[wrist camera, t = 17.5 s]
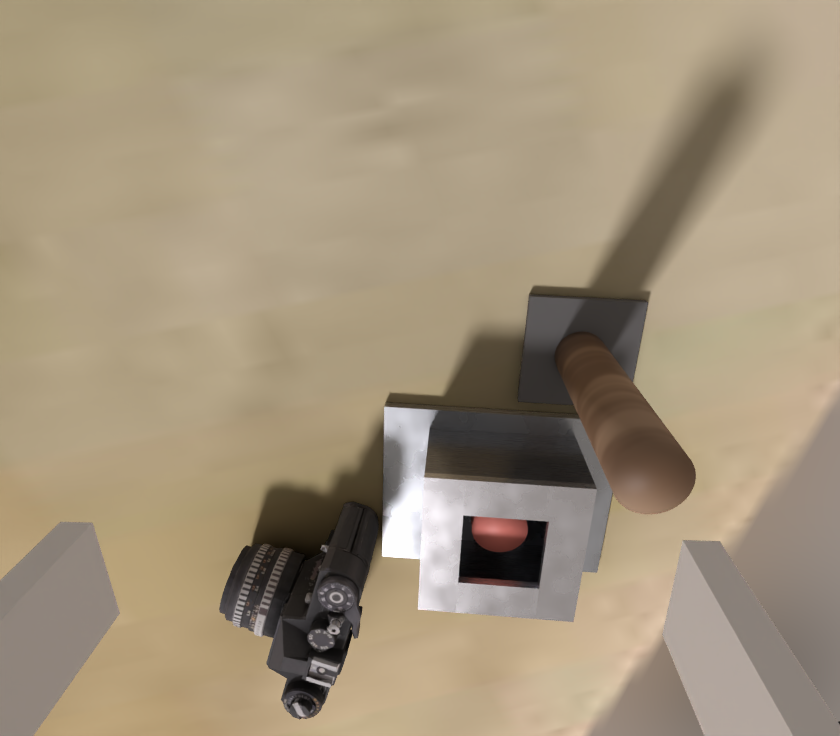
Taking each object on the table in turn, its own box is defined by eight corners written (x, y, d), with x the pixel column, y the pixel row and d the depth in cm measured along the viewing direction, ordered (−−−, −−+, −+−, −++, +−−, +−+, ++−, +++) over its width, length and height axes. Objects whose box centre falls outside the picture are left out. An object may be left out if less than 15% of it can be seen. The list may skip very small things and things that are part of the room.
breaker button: (472, 473, 42) (473, 504, 39) (524, 477, 42) (530, 508, 38) (468, 516, 44) (469, 550, 40) (519, 520, 44) (524, 554, 40)
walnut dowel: (557, 330, 39) (618, 441, 24) (609, 333, 38) (704, 447, 23) (551, 377, 40) (605, 511, 25) (601, 380, 40) (686, 516, 25)
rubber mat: (529, 294, 38) (530, 296, 38) (645, 300, 38) (648, 302, 37) (517, 398, 41) (518, 401, 41) (625, 404, 41) (627, 408, 40)
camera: (264, 474, 45) (213, 555, 36) (390, 509, 46) (372, 599, 37) (238, 601, 51) (188, 700, 41) (351, 631, 51) (327, 737, 42)
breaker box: (385, 402, 42) (370, 453, 35) (623, 417, 41) (658, 472, 34) (383, 549, 47) (369, 621, 40) (594, 565, 46) (619, 642, 39)
